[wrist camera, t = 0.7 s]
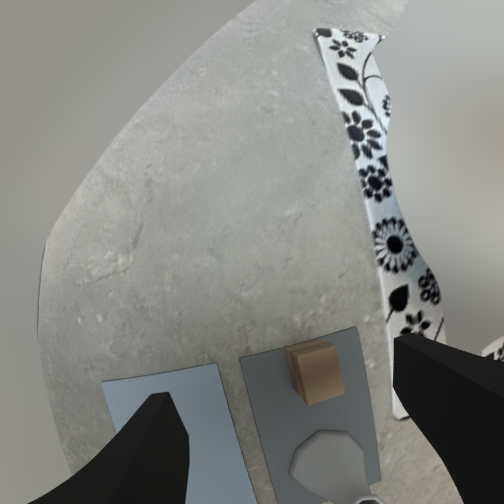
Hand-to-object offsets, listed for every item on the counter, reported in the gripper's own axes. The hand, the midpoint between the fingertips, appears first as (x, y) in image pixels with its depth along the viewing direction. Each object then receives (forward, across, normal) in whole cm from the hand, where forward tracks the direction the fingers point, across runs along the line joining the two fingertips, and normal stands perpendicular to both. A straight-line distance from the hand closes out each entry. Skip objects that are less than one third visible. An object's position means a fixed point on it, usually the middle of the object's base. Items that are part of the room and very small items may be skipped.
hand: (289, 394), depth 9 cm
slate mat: (+13, +10, +17) cm, 23 cm away
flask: (+12, -3, +20) cm, 24 cm away
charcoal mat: (+14, -3, +17) cm, 22 cm away
